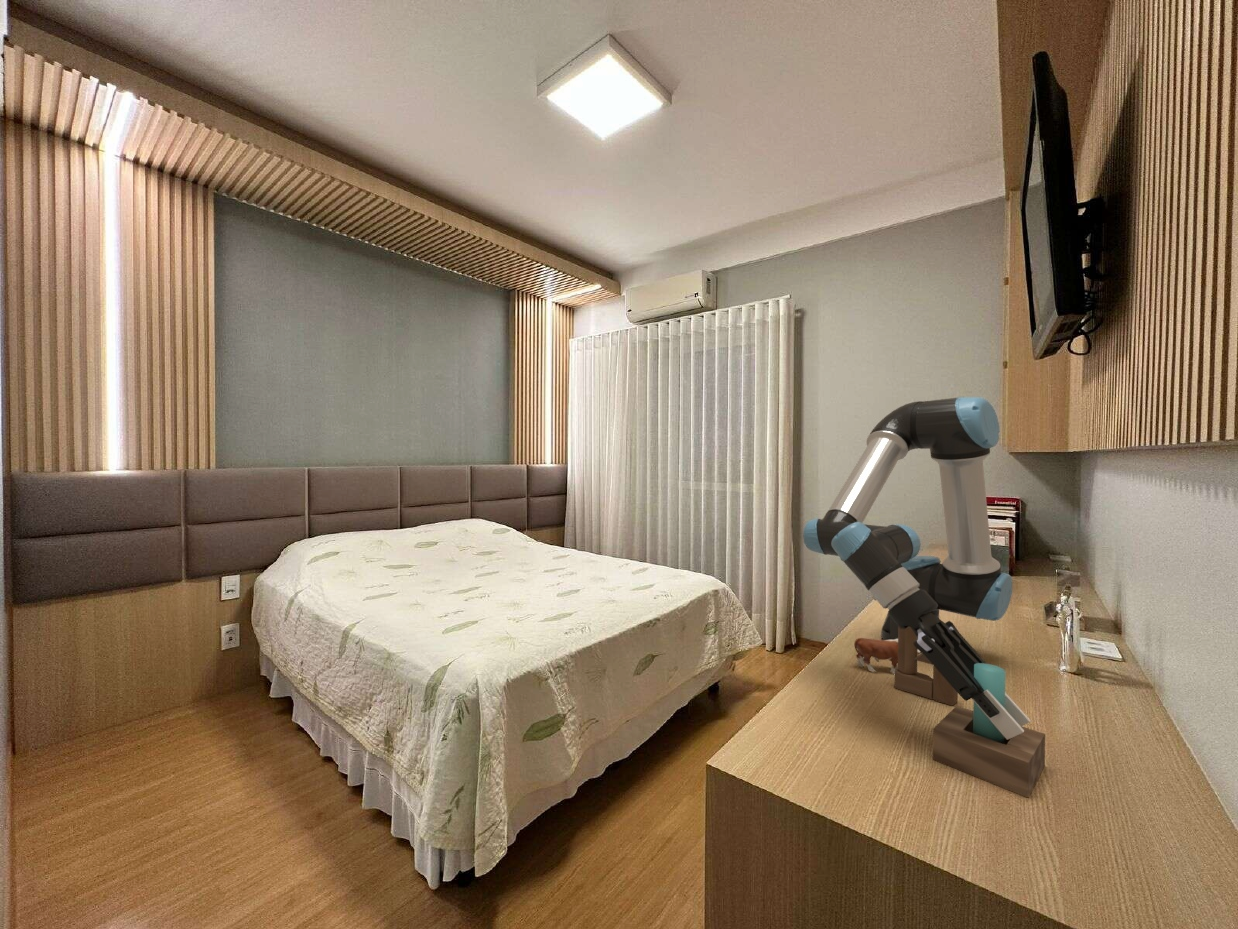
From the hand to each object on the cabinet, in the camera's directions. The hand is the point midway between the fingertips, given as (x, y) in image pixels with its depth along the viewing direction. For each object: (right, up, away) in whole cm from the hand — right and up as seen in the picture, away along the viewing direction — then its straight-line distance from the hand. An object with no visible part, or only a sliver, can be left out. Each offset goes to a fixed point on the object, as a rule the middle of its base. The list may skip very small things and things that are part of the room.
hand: (1018, 729), depth 77 cm
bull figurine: (0, -7, +38) cm, 39 cm away
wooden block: (+2, -7, +27) cm, 28 cm away
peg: (-3, -4, +3) cm, 5 cm away
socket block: (-3, -7, +3) cm, 8 cm away
